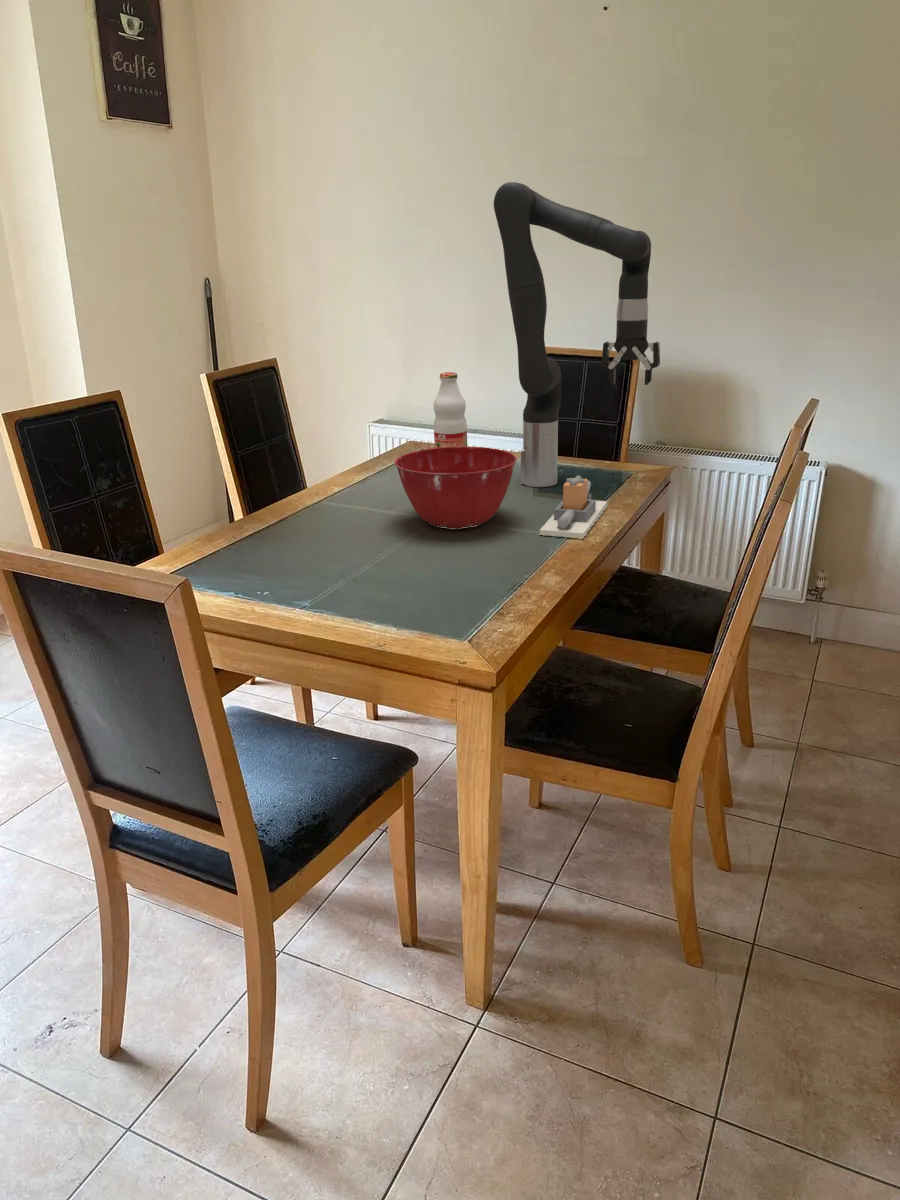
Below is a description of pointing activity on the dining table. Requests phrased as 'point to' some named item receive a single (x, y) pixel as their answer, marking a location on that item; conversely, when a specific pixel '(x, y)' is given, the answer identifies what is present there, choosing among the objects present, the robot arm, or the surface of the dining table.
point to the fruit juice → (449, 413)
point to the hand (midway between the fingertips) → (629, 384)
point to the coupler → (575, 493)
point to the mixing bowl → (456, 483)
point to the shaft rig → (574, 519)
